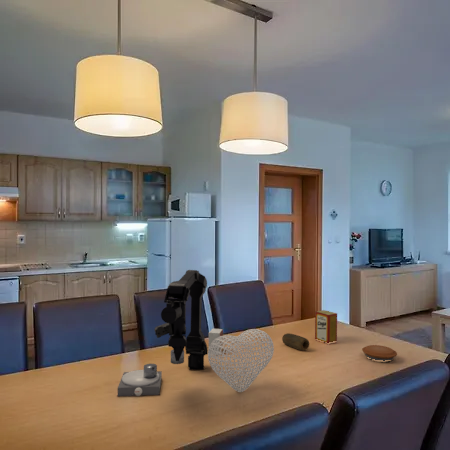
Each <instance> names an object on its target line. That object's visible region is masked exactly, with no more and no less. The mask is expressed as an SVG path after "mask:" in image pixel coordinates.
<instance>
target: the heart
mask: <svg viewBox="0 0 450 450" xmlns="http://www.w3.org/2000/svg"><path fill="white" fill-rule="evenodd" d="M256 338H257V339H256ZM218 340H219V342H218V343H217V341H218ZM215 341H216V342H215ZM220 341H221V343H220ZM214 342H215V343H214ZM219 344H220V345H221V344H222V345H223V346H222V345H221V346H220V345H219ZM214 346H215V347H214ZM217 346H218V347H217ZM274 346H275V345H274V342H273V340H272V338H271V336H270V335H269V334H268V333H267V332H266V331H264V330H261V329H257V328H250V329H247V330H245V331H243V332H241V333H240V334H239V335H236V336H235V335H228V334H223V336H219V337H218V338H216V339H214V340H213V341H212V343H211V344H210V346H209V345H208V348H209V349H208V348H207V349H208V354H207V360H208V362H209V365H210V368H211V369H212V371H213V372H214V373H215V374H216V376H218V377H219V378H220V379H221V380H223V381H224V382H225V383H226V384H227V385H228V386H229V387H230V388H231V389H233V390H234V391H236V392H238V393H242V392H244V391H246V390H247V389H249V387H250V385H252V383H253V382H254V381H255V380H256V379H257V377H258V376H259V375H260V374H261V372H262V371H264V369H265V368H266V367H267V366H268V364H270V362H271V360H272V359H273V356H274V351H275V347H274ZM213 348H215V349H214V350H213ZM216 348H217V351H215V350H216ZM219 348H221V349H220V352H219V351H218V349H219ZM222 348H223V350H222ZM256 348H257V349H256ZM209 350H210V352H209ZM221 350H222V351H221ZM215 352H216V354H215ZM210 353H211V354H210ZM218 353H219V355H218ZM228 358H229V359H228ZM255 359H256V360H255ZM235 372H236V373H235Z"/></svg>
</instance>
